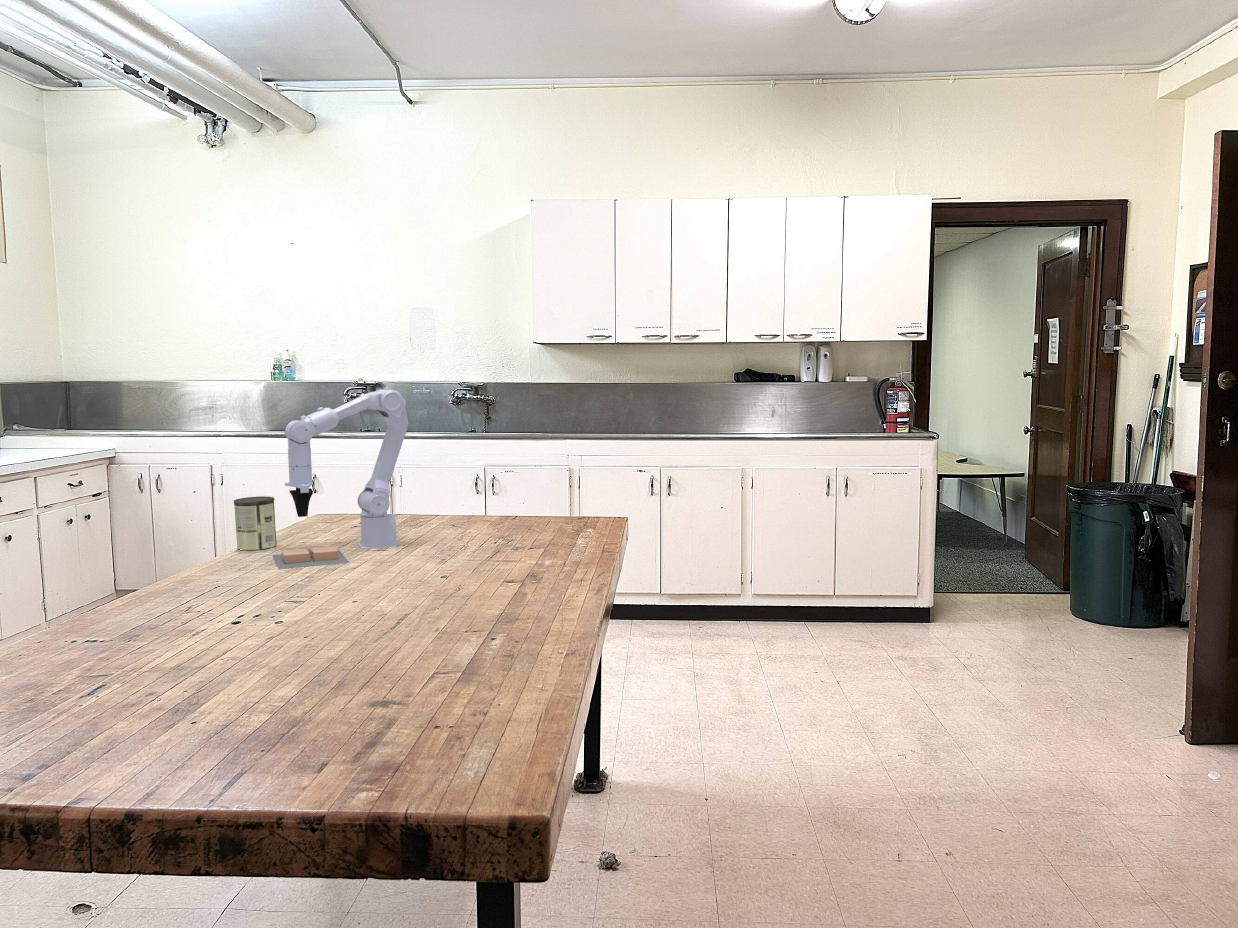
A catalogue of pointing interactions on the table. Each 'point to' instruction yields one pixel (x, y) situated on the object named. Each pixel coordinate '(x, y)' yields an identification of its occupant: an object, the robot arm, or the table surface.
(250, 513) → the coffee can
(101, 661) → the table surface
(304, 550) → the tile
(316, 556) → the tile
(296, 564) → the slate mat
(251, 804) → the table surface
